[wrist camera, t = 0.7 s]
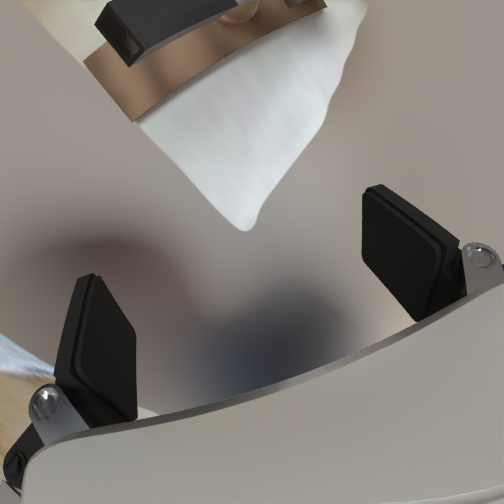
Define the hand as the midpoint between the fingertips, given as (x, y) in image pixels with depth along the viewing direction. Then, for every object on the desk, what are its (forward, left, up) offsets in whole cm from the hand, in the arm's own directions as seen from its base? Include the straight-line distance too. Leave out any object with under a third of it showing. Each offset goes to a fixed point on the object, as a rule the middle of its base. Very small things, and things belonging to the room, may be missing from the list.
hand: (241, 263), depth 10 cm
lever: (-14, -3, -16) cm, 22 cm away
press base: (-13, -4, -29) cm, 32 cm away
